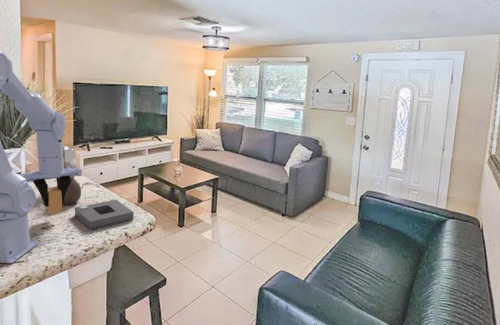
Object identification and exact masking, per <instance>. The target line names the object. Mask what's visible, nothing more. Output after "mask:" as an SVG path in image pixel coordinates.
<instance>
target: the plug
mask: <svg viewBox="0 0 500 325" xmlns="http://www.w3.org/2000/svg"><path fill="white" fill-rule="evenodd" d="M44 207H45V206H44ZM45 210H46V211H47V212H48V213H49V214H56V213H61V212H63V204H62V194H61V190H60V189H59V188H58V187H57V185H55V186H48V206H47V207H45Z"/></svg>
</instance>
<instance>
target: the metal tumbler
mask: <svg viewBox="0 0 500 325" xmlns="http://www.w3.org/2000/svg"><path fill="white" fill-rule="evenodd" d="M62 147H63V166H64V169H67V168H77V157H76V156H77V155H76V147H75V146H71V145H62ZM72 177H73V178H74V179H75V176H72Z"/></svg>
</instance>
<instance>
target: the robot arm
mask: <svg viewBox="0 0 500 325" xmlns="http://www.w3.org/2000/svg"><path fill="white" fill-rule="evenodd" d="M13 70H14V69H13V62H12V60H11V59H10V58H8V56H7V55H6V53H5V52H4V51H3V50H1V49H0V90H1V91H2V92H3V93H4V94H5V95H7V96H8V97H10V98H11V99H12V100H13V101H14V108H15V109H16V110H17V111H18V112H19V113H20V114H21V115H23V116H24V117H25V118H26V120H27V121H28V123H29V126H30V129H31V130H32V131H34V132H35V134H36V137H35V138H36V147H37V162H38V170H37V171H36V170H35V171H33V172H27V173H20V174H18V173H16V172H15V171H13V169H12V167H11V164H10V162H9V161H10V160H9V159H8V156H7V154H6V151H5V149H4V147H3V144H2V141H1V140H0V263H1V264H13V263H15V262H16V261H17V260H18V259H20V258H22V256H24V255H25V254H26V253H28V252H29V251H31V250H32V249H33V248H34V247H35V246H37V245H38V244H40V241H39V240H33V239H30V238H31V237H30V228H29V215H28V214H29V213H30V212H31V211H32V209H33V208H34V206H35V204H36V201H37V195H36V192H35V190H34V188H33V187H32V186H30V184H29V183H30V182H33V184H34V185H35V187H36V188H37V191H38V192H39V195H40V197H41V200H42V202H43V206H44V207H47V206H48V187H49V184H48V183H47V180H52V179H54V180H56V186H58V188H59V189H60V190H61V194H62V205H64V204H63V202H64V197H65V194H66V191H67V189H68V187H69V185H70V183H71V179H70V177H71V176H74V177H82V175H83V173H82V171H83V170H82V168H80V167H76V168H67V169H64V166H63V147H62V146H63V139H64V138H65V129H66V128H67V120H66V117H65V116H64V114H63V113H61V112H60V111H56V110H54V109H53V108H52V107H51V106H50V105H49V104H48V103H47V102H46V101H45V100H44V99H43V97H42V95H41V94H40V93H39V92H35V91H30V90H28V89H27V87H26V86H25V85H24V84H23V83H22V81H21V80H20V79H19V78H18V77H17V75H16V74H15V73H14V71H13Z"/></svg>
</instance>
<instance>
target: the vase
mask: <svg viewBox="0 0 500 325" xmlns="http://www.w3.org/2000/svg"><path fill="white" fill-rule="evenodd" d="M70 179H71V183H70V185H69V187H68V189H67V191H66V194H65V197H64V202H63V204H62V205H66V206H69V205H75V204H76V203H78V201H79V200H80V199H81V196H82V189H81V185H80V184H79V182H78V181H77V180H76V179H75V177H74V178H73V177H72V176H71V177H70ZM56 186H57V185H56ZM57 187H58V186H57Z"/></svg>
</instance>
